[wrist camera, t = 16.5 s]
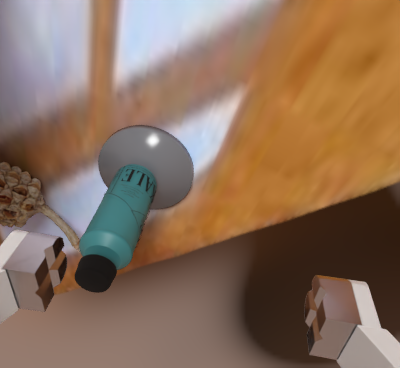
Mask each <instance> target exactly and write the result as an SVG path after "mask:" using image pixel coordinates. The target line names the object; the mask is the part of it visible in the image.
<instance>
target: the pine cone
mask: <svg viewBox="0 0 400 368" xmlns="http://www.w3.org/2000/svg"><path fill="white" fill-rule="evenodd" d="M40 187H41V182H40V180H38V179H36V178H33V179H31V176H30V174H29V173H28V172H27V171H26V172H22V173H21V170H20V168H19V167H18V166H13V167H12V168H11V167H10V165H9V164H8V163H6V162H3V163H0V224H1V225H3V226H6V225H8V227H12V226H13V225H15V226H17V227H22V226H23V225H25V224H26V221H27V220H28V219H29V218H31V217H32V216H33V215H35V214H37V213H39V212H41V213H43V214H44V215H46V216H47V217H49V218H50V219H51V220H52V221H54V222H55V224H56V225H57V226H59V227H60V229H61V230H62V231H63V232H64V233H65V235H66V236H67V237H68V239H69V241H70V242H71V244H72V246H74V248H75V249H76V250H77V251H79V242H80V241H79V238H78V236H77V235H76V233H75V232H74V231H73V230H72V229H71V227H70V226H69V225H68V224H66V223H65V222H64V221H63V219H62V218H61V217H60V216H58V215H57V214H56V213H55V212H54V211H53V210H52V209H50V208H49V207H48V205H46V204H45V201H44V199H43V196H42V194H41V192H40ZM79 252H80V251H79Z"/></svg>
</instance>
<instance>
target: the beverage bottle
mask: <svg viewBox="0 0 400 368" xmlns="http://www.w3.org/2000/svg"><path fill="white" fill-rule="evenodd" d="M156 189H157V182H156V179H155V177H154V175H153V174H152V172H151V171H149V170H148V169H147V168H145V167H143V166H141V165H136V164H129V165H126V166H124V167H121V168H120V169H119V170H118V171H117V173H116V174H115V176H114V178H113V180H112V182H111V184H110V186H109V188H108V190H107V191H106V193H105V195H104V197H103V200H102V202H101V204H100V205H99V207H98V209H97V211H96V213H95V215H94V216H93V218H92V220H91V222H90V224H89V226H88V228H87V229H86V231H85V233H84V235H83V236H82V237H81V239H80V242H79V249H80V252H81V254H82V256H83V257H82V258H81V260H80V262H79V264H78V268H77V270H76V273H75V280H76V282H77V283H78V285H79V286H81V287H82V288H84V289H85V290H88V291H91V292H104V291H106V290H107V289H108V288H109V287H110V285H111V283H112V281H113V280H114V278H115V276H116V273H117V270H119V269H122V268H124V267H126V266H127V265H128V264H129V263H130V261H131V259H132V256H133V252H134V249H135V248H136V244H137V242H139V236H140V234H141V232H143V231H142V228H143V225H145V223H144V222H145V220H146V219H147V218H146V217H147V214H148V215H149V213H148V211H149V209H150V206H151V205H152V202H153V200H154V199H153V198H154V196H155V193H156V192H157V191H156ZM149 212H150V211H149ZM140 237H141V236H140ZM137 246H138V245H137Z"/></svg>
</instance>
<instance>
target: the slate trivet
mask: <svg viewBox="0 0 400 368" xmlns="http://www.w3.org/2000/svg"><path fill="white" fill-rule="evenodd" d="M98 164H99V171H100V174H101V177H102V179H103V181H104V183H105V184H106V186H107V187H108V188H109V186H110V184H111V182H112V180H113V178H114V176H115V174H116V173H117V171H118V170H119V169H120V168H121V167H124V166H126V165H129V164H136V165H141V166H143V167H145V168H147V169H148V170H149V171H151V172H152V174H153V175H154V177H155V179H156V182H157V189H156V191H157V192H156V193H155V196H154V198H153V199H154V200H153V202H152V205H151V206H150V209H163V208H167V207H170V206H173V205H174V204H176V203H178V202H179V201H181V200H182V199H183V198H184V197H185V196H186V194H187V193H188V191H189V190H190V187H191V184H192V180H193V175H194V168H193V162H192V159H191V157H190V155H189V153H188V151H187V149H186V148H185V147H184V145H183V144H182V143H181V142H180V141H179V140H178V139H176V138H175V137H174V136H173V135H171V134H169V133H168V132H166V131H163V130H161V129H159V128H155V127H151V126H144V125H135V126H129V127H126V128H122V129H120V130H118V131H117V132H115V133H114V134H112V135H111V136H110V137H109V138H108V140H107V141H106V142H105V144H104V145H103V147H102V149H101V151H100V155H99V160H98Z"/></svg>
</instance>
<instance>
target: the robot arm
mask: <svg viewBox="0 0 400 368" xmlns="http://www.w3.org/2000/svg"><path fill="white" fill-rule="evenodd" d="M63 247H64V242H63V238H61V237H58V236H52V235H46V234H41V233H35V232H28V231H22V230H14V231H12V232H11V233H10V234H9V236H8V237H7V238H6V239H5V241H4V242H3V243H2V244H1V246H0V324H1V323H2V322H3V321H5V320H6V319H7V318H8V317H10V316H11V315H12V314H14V313H15V312H16V311H17V310H19V309H18V308H20V309H28V310H35V311H43V312H45V311H46V309H47V307H48V305H49V303H50V302H51V300H52V298H53V296H54V290H53V288H54V287H55V286H57V285H58V284H60V283H61V281H62V279H63V277H64V275H65V271H66V268H67V257H66V254H65V253H64V252H63V251H62V248H63ZM312 287H313V290H311V291H309V292H308V294H307V297H306V300H305V307H304V314H305V322H306V323H307V324H308V326H309V327H310V328H309V331H308V333H307V340H308V348H309V354H310V355H314V356H320V357H325V358H330V359H335V360H337V362H338V363H339V365H340V366H341V368H400V343H399V342H398V341H397V340H396V339H395V338H394V337H393V336H392V335H391V334H390V333H389V332H388V331H387V330H386V329H381V326H380V323H379V319H378V317H377V313H376V310H375V307H374V303H373V300H372V297H371V294H370V290H369V288H368V285H367V284H366V282H360V281H353V280H347V279H340V278H333V277H326V276H318V275H316V276H315V277H314V279H313V281H312Z"/></svg>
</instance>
